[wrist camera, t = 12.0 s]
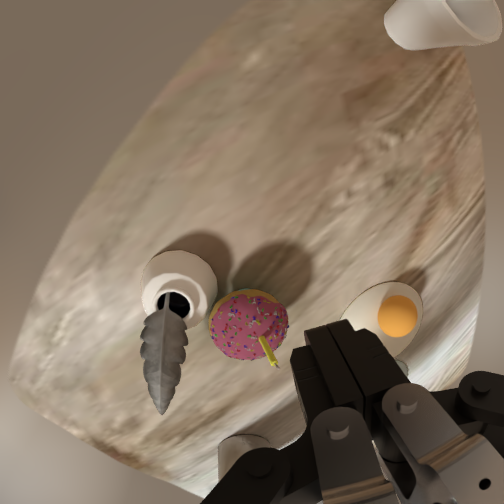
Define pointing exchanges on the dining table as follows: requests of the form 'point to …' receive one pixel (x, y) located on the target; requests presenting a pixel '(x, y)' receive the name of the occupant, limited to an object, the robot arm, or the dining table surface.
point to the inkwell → (172, 316)
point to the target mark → (366, 313)
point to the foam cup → (443, 23)
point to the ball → (397, 316)
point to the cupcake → (248, 325)
